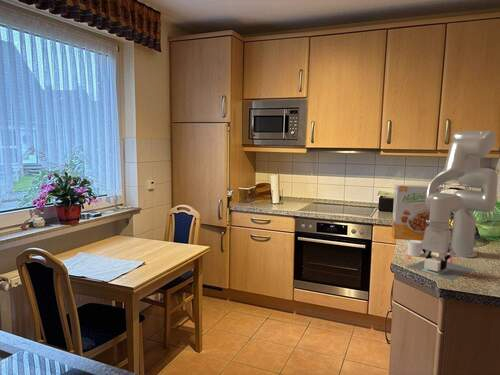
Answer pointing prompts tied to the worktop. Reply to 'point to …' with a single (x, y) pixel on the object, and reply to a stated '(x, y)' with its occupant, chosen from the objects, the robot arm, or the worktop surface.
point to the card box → (433, 263)
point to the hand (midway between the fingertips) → (435, 266)
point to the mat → (444, 270)
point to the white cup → (414, 247)
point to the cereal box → (410, 212)
